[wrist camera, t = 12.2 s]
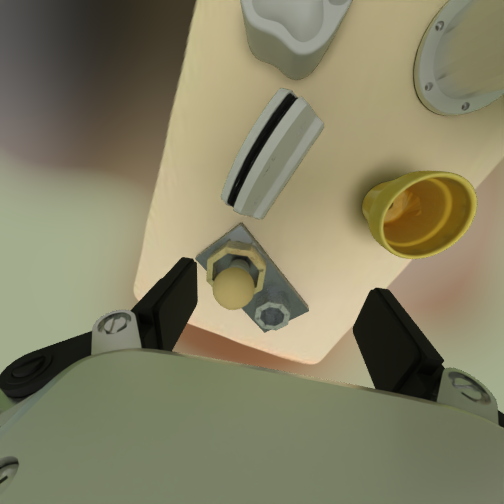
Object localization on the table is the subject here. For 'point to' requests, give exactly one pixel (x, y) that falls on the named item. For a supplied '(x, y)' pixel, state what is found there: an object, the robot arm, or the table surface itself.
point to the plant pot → (420, 212)
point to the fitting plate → (255, 279)
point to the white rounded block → (271, 154)
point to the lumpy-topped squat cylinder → (292, 31)
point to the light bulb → (234, 286)
